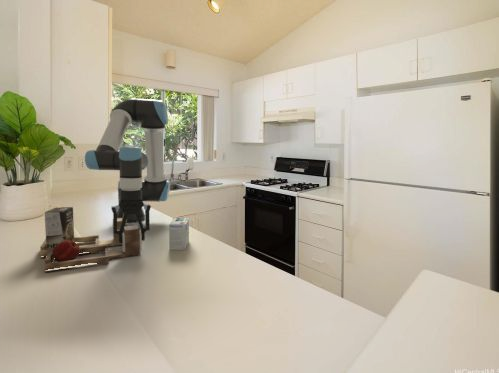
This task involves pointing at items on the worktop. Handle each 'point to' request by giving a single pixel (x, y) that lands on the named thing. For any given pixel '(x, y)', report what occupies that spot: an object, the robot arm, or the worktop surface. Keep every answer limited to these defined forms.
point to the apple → (65, 251)
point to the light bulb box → (178, 234)
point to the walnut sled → (130, 250)
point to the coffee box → (59, 226)
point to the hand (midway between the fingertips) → (132, 249)
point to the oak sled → (90, 240)
